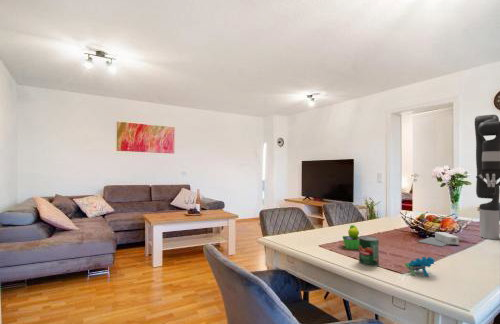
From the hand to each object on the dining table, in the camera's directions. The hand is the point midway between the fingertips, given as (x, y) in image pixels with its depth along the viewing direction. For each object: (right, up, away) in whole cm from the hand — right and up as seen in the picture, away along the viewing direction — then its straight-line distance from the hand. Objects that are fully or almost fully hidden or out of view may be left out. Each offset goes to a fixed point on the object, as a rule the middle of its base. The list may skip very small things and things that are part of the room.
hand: (491, 194), depth 140 cm
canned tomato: (-72, -28, -21) cm, 80 cm away
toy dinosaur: (-57, -28, -32) cm, 70 cm away
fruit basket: (-69, -29, +3) cm, 75 cm away
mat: (-17, -29, +17) cm, 38 cm away
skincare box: (-12, -27, +10) cm, 31 cm away
